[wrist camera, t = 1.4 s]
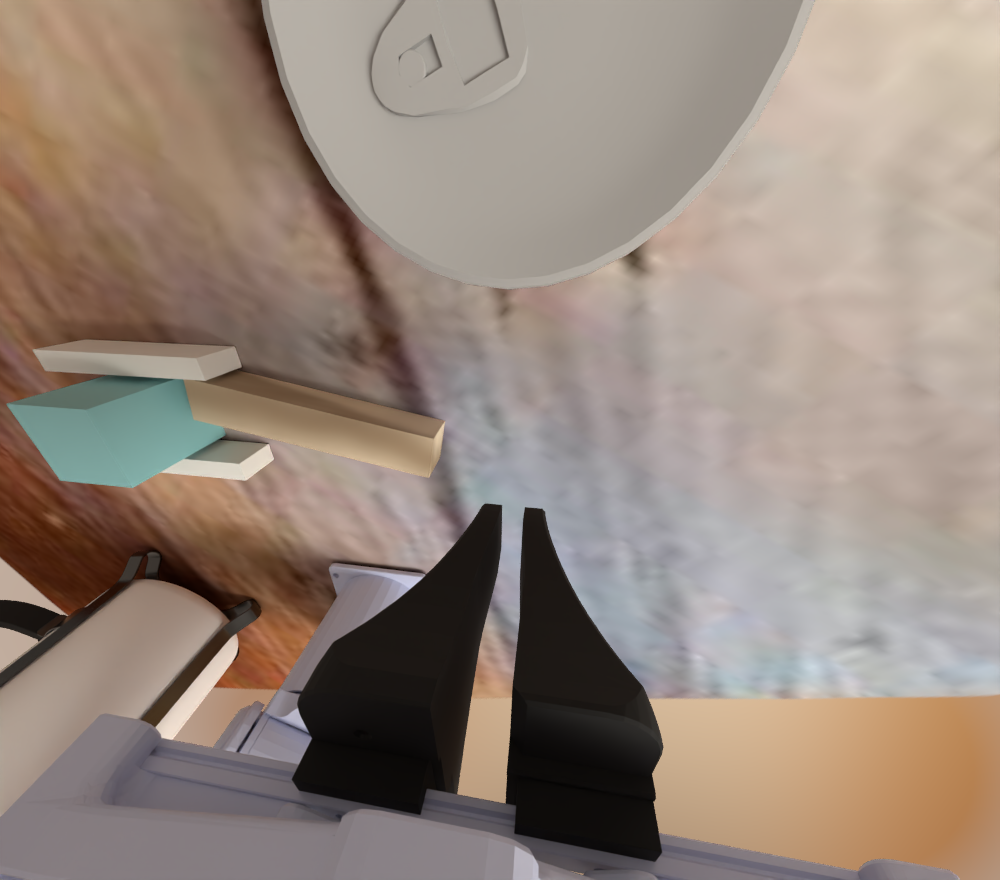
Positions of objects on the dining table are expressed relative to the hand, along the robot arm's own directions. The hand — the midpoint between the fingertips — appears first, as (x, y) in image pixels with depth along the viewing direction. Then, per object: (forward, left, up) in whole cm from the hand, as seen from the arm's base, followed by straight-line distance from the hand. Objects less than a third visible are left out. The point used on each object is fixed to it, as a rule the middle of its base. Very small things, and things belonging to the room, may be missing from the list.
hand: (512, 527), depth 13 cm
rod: (0, +12, -9) cm, 15 cm away
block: (0, +22, -8) cm, 24 cm away
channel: (0, +22, -8) cm, 24 cm away
